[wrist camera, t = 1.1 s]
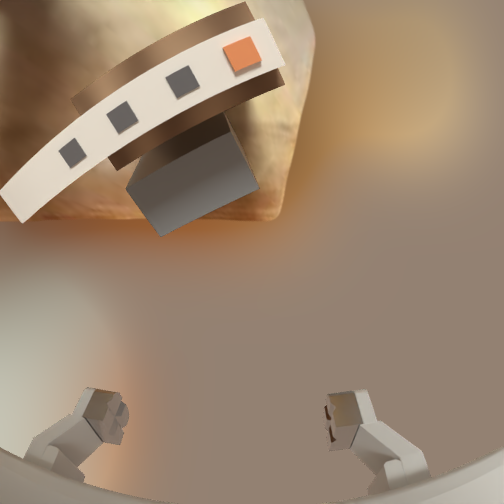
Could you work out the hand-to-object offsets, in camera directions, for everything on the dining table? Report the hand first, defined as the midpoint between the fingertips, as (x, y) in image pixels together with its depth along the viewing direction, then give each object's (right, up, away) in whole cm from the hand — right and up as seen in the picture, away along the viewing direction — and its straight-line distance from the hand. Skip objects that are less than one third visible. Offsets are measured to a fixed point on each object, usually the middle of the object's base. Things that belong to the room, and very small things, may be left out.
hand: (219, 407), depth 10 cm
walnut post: (-9, +35, +31) cm, 47 cm away
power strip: (-9, +17, +11) cm, 22 cm away
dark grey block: (-9, +24, +39) cm, 46 cm away
